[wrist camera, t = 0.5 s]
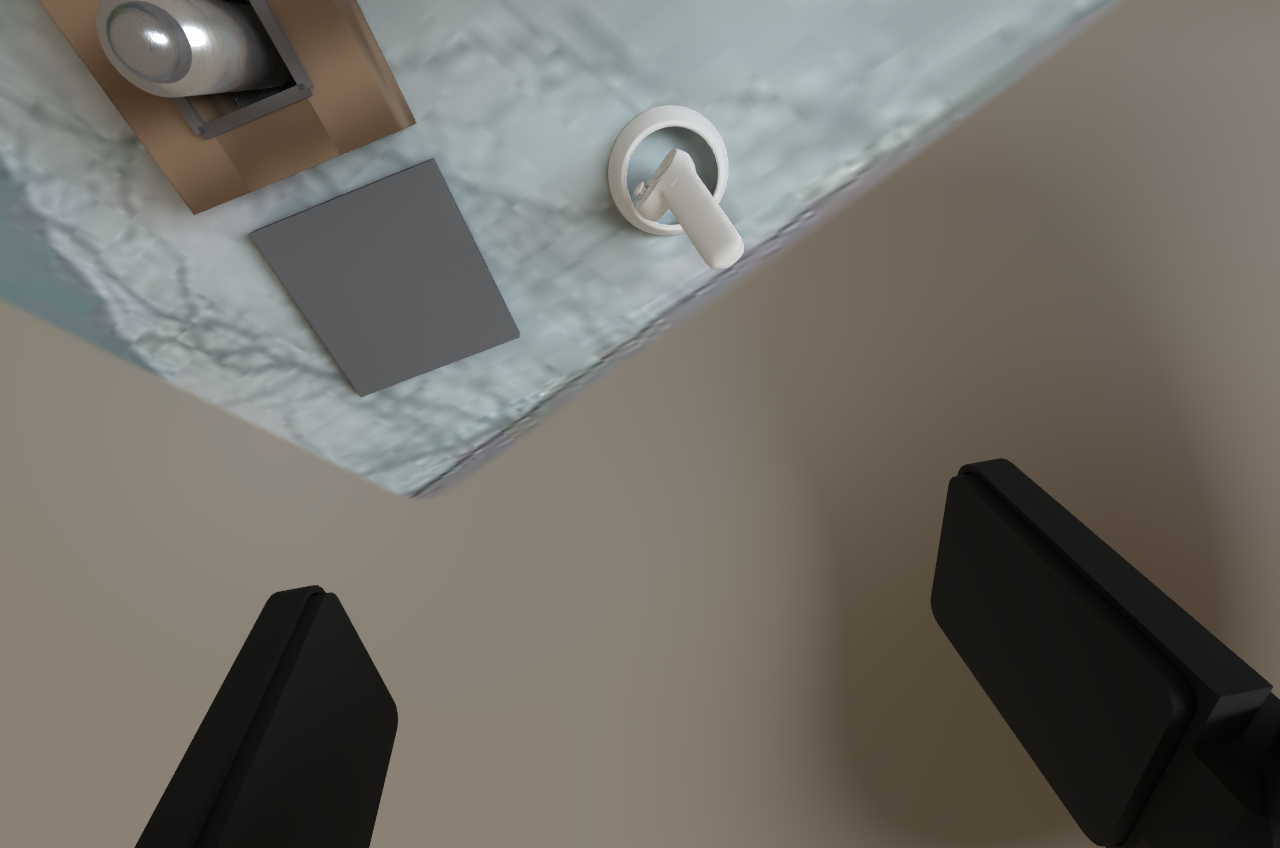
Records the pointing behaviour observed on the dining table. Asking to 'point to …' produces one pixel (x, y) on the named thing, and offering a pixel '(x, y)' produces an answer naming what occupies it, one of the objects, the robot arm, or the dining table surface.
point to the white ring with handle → (677, 187)
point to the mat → (390, 278)
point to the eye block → (266, 130)
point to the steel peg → (189, 46)
